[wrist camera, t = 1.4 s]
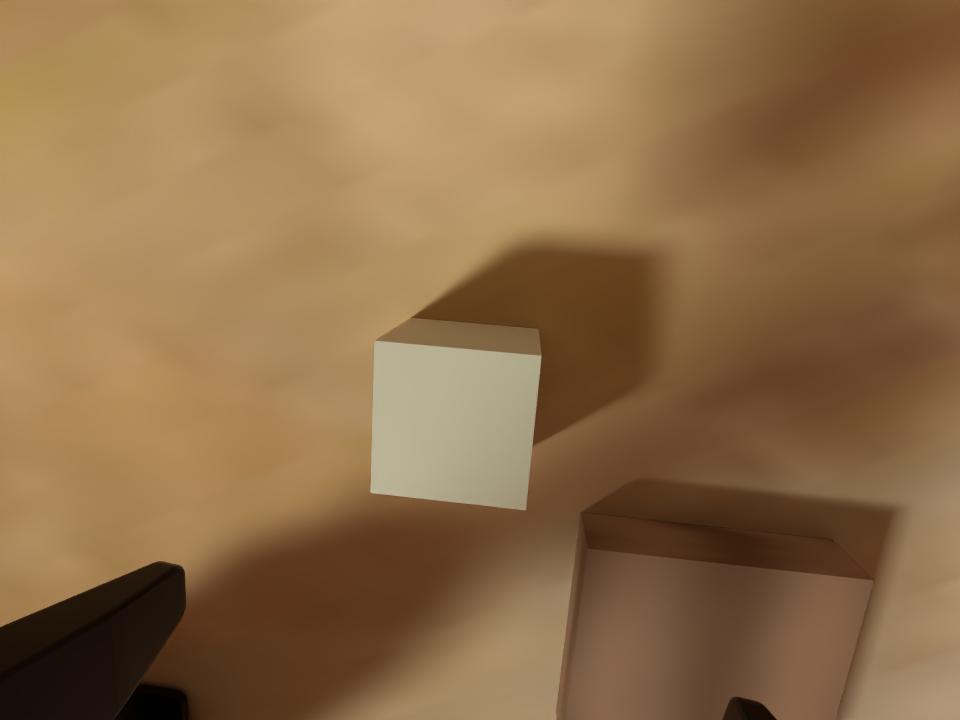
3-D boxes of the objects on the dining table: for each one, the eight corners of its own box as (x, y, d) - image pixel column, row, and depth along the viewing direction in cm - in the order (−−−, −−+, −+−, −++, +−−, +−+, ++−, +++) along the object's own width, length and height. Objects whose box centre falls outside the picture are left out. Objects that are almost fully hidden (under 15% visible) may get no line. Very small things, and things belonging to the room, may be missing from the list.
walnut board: (555, 701, 24) (559, 765, 21) (579, 507, 22) (587, 548, 19) (777, 731, 23) (812, 800, 20) (826, 533, 21) (874, 580, 18)
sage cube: (406, 436, 21) (370, 492, 17) (411, 317, 20) (374, 340, 16) (526, 449, 21) (525, 510, 16) (538, 328, 20) (541, 355, 15)
